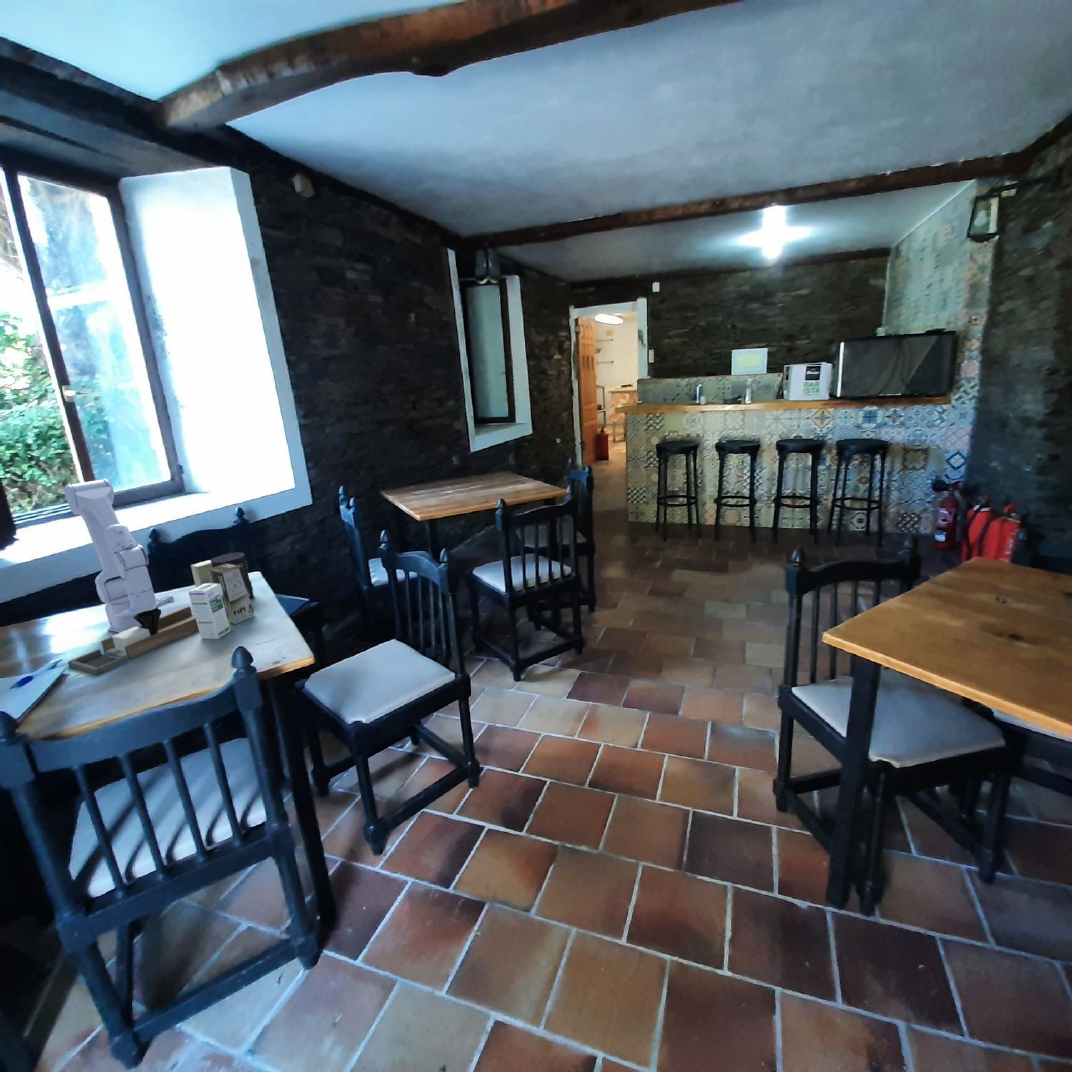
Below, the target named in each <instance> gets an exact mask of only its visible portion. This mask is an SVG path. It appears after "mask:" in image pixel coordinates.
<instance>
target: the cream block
mask: <svg viewBox="0 0 1072 1072" xmlns="http://www.w3.org/2000/svg"><path fill="white" fill-rule="evenodd" d="M111 637H112V638H113V641H114V645H115V648H116V650H120V651H124V652H126V650H125V647H126V646H128V645H131V644H133V643H136V642H138V641H140V640H143V639H145V638H147V637H150V633H149V630H148V629H144V628H140V627H133V628H131V629H128V630H126V631H123V632H121V633H119V632H117V633H116V634H113V635H111Z"/></svg>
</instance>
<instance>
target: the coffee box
mask: <svg viewBox="0 0 1072 1072" xmlns="http://www.w3.org/2000/svg"><path fill="white" fill-rule="evenodd" d="M207 574H208V578H209V582H210V583H218V584H221V587H222V591H223V595H224V599H225V603H226V606H227V610H228V614H229V618H230V621H231V624H234V625H236V624H239V623H242V622H244V621H246V620H249V619H251V618H254V617H255V612H254V608H253V605H252V604H253V603H252V600H251V599H250V595H249V591H248V586H247V582H246V578H245V573H244V569H243V566H239V565H234V564H228V563H225V564H222V565H219V566H216V567H214V568H211V569H208V570H207Z"/></svg>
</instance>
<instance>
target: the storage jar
mask: <svg viewBox="0 0 1072 1072" xmlns="http://www.w3.org/2000/svg"><path fill="white" fill-rule="evenodd" d="M245 555H246V554H245V553H243V552H238V551H237V552H229V553H225V554H224V553H223V554H220V555H218V556H217V555H216V556H215V557H212V558H210V560H211V563H212V568H214V567H216V566H219V565H222V564H225V563H228V564H234V565H239V566H243V569H244V573H245V578H246V582H247V586H248V591H249V595H250V599H251V601H253V599H255V595H254V591H253V590H254V589H253V585H252V581H251V580H250V577H249V576H250V575H249V566H248V563H247V560H246V556H245Z"/></svg>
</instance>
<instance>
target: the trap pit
mask: <svg viewBox="0 0 1072 1072" xmlns="http://www.w3.org/2000/svg"><path fill="white" fill-rule="evenodd" d="M125 663H128V659H126V657H125V656H123V657H118V658H115V657H111V656H108V655H104V654H102V652H101V650H100V649H99V648H98V649H95V650H93V651H90V652H88V653H85V654H84V655H83V654H82V655H81V656H79V657H76V658H74V659H70V660H69V661H67V665H68V666H69V668H71V669H75V670H78V671H81V672H85V673H88V674H91V675H94V676H100V675H102V674H105V673H106V672H108V671H111V670H113V669H115V668H118V667H119V666H122V665H124V664H125Z"/></svg>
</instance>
